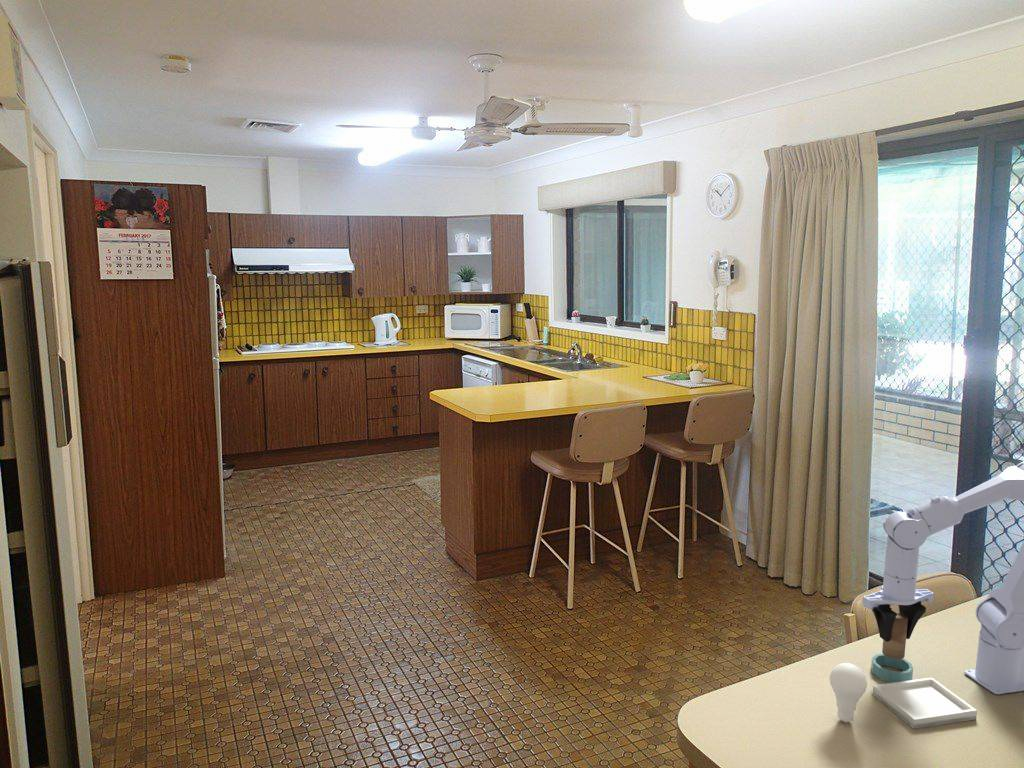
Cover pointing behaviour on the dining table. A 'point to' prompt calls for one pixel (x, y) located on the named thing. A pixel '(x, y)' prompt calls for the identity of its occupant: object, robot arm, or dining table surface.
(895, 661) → the teal ring
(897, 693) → the tray
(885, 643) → the dowel
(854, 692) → the lightbulb
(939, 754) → the dining table surface
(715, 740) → the dining table surface
